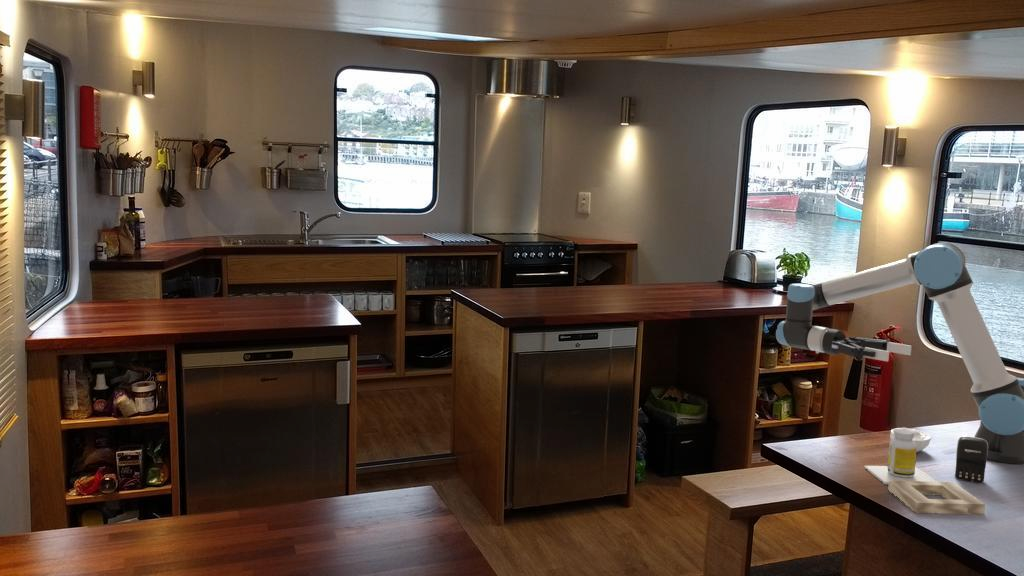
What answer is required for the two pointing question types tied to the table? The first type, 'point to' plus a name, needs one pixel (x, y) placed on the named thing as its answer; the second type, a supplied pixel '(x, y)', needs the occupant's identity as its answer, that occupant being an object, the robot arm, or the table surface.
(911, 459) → the pill bottle
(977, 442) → the battery charger
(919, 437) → the cell model
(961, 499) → the holder
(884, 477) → the pad
